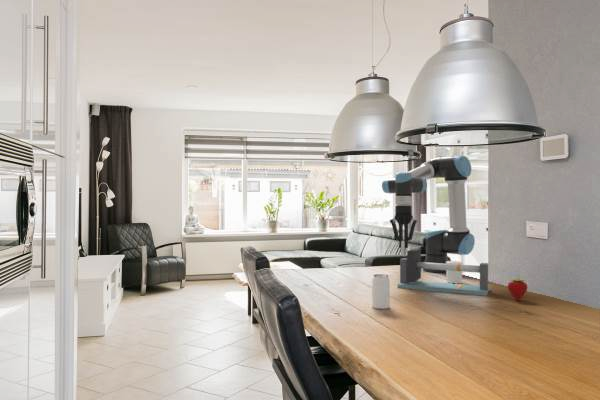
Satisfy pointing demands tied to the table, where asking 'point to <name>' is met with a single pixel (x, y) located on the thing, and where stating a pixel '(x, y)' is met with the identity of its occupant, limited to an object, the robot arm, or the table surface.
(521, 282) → the strawberry
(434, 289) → the pipe stand
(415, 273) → the dark grey square plate
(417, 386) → the table surface
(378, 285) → the can
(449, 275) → the white cup
